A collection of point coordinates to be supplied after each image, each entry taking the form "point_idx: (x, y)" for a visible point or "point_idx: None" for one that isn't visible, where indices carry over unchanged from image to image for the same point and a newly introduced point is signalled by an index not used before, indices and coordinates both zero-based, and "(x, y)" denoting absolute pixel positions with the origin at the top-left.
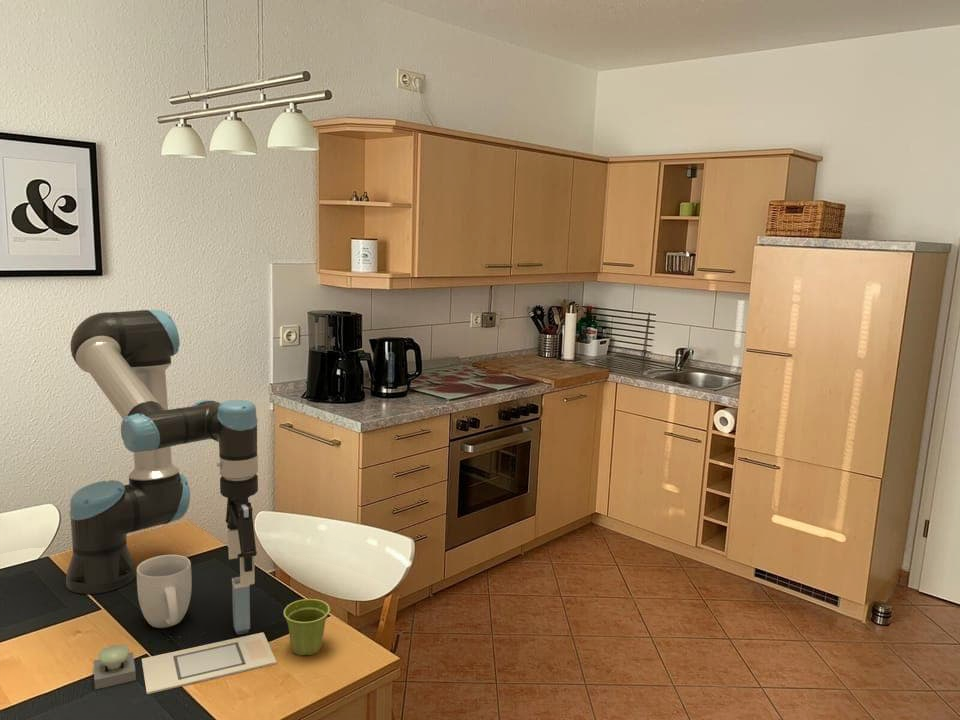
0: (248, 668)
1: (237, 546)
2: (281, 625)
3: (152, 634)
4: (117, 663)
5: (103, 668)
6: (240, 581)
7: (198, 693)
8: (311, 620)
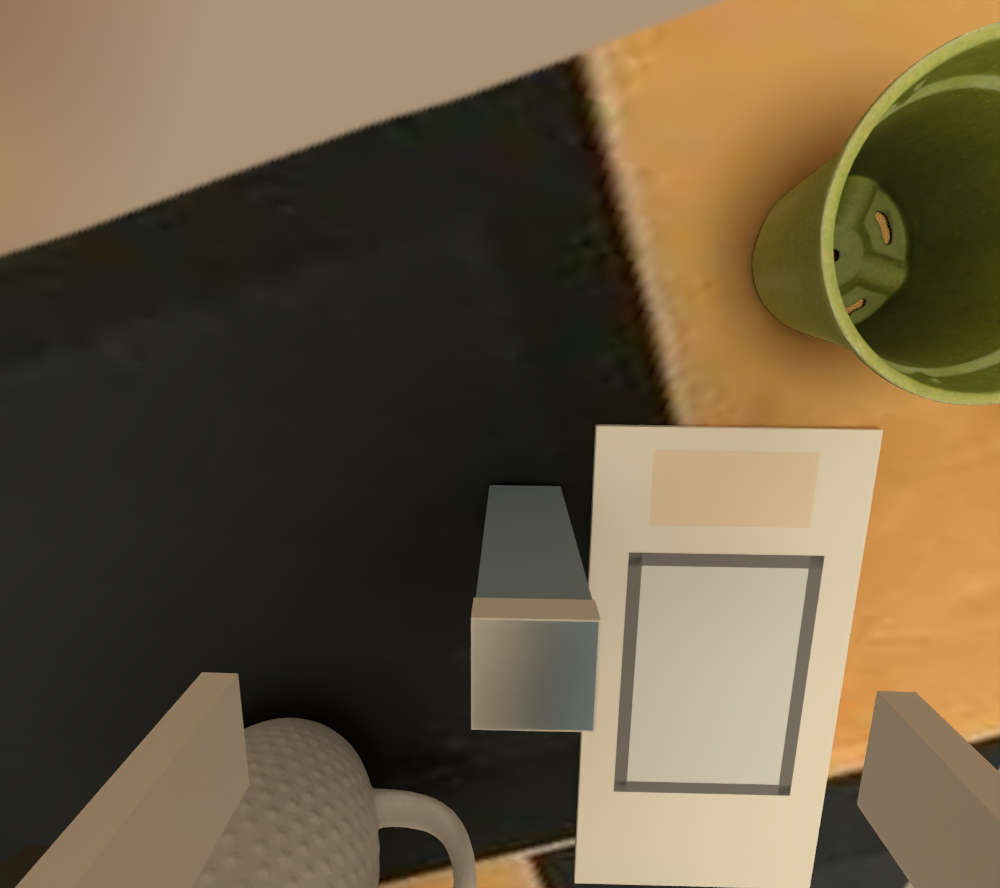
0: (862, 551)
1: (165, 823)
2: (553, 321)
3: None
4: None
5: None
6: (883, 836)
7: None
8: (811, 183)
